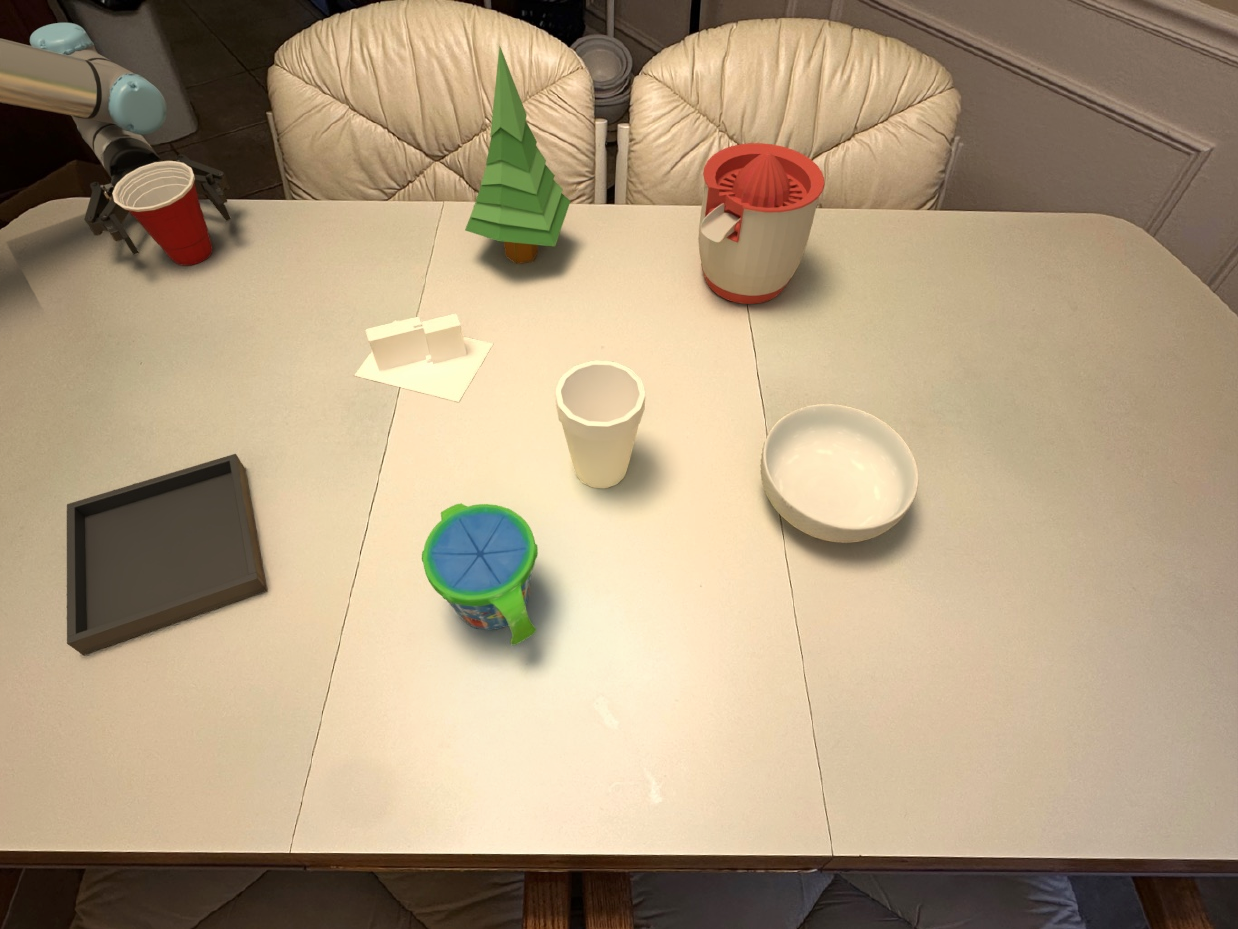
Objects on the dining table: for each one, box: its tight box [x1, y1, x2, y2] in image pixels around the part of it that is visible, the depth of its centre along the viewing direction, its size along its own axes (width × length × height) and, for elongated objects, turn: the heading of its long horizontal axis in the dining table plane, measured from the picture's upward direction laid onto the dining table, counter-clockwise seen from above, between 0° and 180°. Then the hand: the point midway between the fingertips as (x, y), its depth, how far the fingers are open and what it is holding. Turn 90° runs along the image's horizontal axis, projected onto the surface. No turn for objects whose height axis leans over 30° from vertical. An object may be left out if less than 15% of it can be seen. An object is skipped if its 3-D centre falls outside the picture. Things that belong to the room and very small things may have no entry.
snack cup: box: [421, 502, 539, 646], centre depth 73 cm, size 16×10×10 cm
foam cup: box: [554, 360, 646, 489], centre depth 83 cm, size 10×9×13 cm
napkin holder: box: [354, 313, 494, 403], centre depth 96 cm, size 15×11×6 cm
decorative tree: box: [464, 45, 571, 265], centre depth 100 cm, size 14×16×30 cm
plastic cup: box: [112, 160, 213, 266], centre depth 106 cm, size 11×11×12 cm
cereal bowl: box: [759, 403, 920, 544], centre depth 83 cm, size 17×17×7 cm
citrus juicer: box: [697, 142, 825, 305], centre depth 101 cm, size 16×17×20 cm
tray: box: [66, 453, 268, 656], centre depth 79 cm, size 18×18×3 cm
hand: (179, 228), depth 104 cm, fingers open, 12 cm apart
